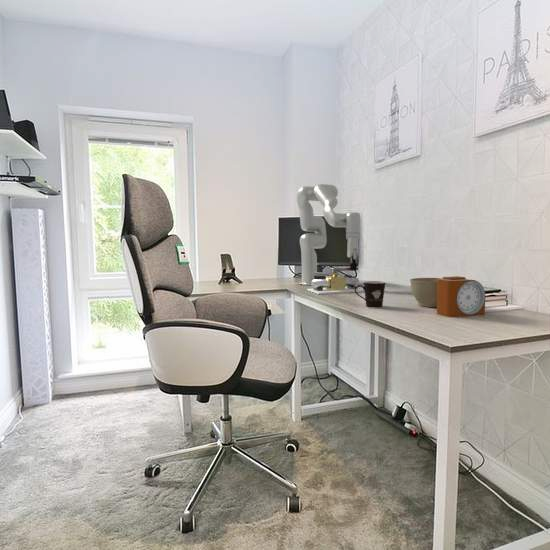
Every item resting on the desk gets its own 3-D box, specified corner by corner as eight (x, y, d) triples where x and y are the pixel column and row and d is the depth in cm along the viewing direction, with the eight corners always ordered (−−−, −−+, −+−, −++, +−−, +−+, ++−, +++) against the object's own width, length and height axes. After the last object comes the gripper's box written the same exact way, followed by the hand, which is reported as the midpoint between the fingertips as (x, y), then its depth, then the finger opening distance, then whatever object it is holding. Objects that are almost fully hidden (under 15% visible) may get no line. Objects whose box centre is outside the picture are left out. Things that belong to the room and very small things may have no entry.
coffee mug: (386, 305, 158) (386, 281, 157) (383, 308, 150) (383, 283, 149) (358, 303, 162) (358, 280, 162) (354, 307, 155) (354, 282, 154)
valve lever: (333, 271, 200) (333, 268, 200) (330, 270, 204) (330, 267, 204) (358, 270, 205) (358, 267, 205) (354, 269, 209) (354, 266, 209)
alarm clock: (450, 317, 131) (451, 278, 130) (434, 313, 139) (435, 276, 138) (485, 314, 135) (486, 277, 134) (467, 310, 143) (468, 275, 142)
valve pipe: (310, 289, 203) (310, 272, 203) (353, 287, 211) (353, 270, 210) (315, 291, 197) (315, 273, 196) (360, 288, 204) (360, 271, 203)
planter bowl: (435, 301, 164) (436, 276, 164) (461, 308, 149) (462, 280, 148) (402, 303, 161) (402, 278, 160) (424, 310, 145) (425, 282, 144)
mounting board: (307, 290, 207) (307, 288, 207) (351, 288, 214) (351, 286, 214) (318, 294, 192) (318, 292, 191) (366, 291, 199) (366, 289, 199)
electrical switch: (332, 288, 217) (331, 272, 215) (328, 290, 213) (327, 273, 211) (317, 287, 222) (316, 271, 220) (313, 289, 218) (312, 273, 216)
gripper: (344, 236, 209) (344, 269, 210) (347, 235, 194) (348, 271, 195) (358, 236, 208) (358, 269, 210) (362, 235, 194) (363, 271, 195)
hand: (353, 270), depth 203 cm, fingers closed
